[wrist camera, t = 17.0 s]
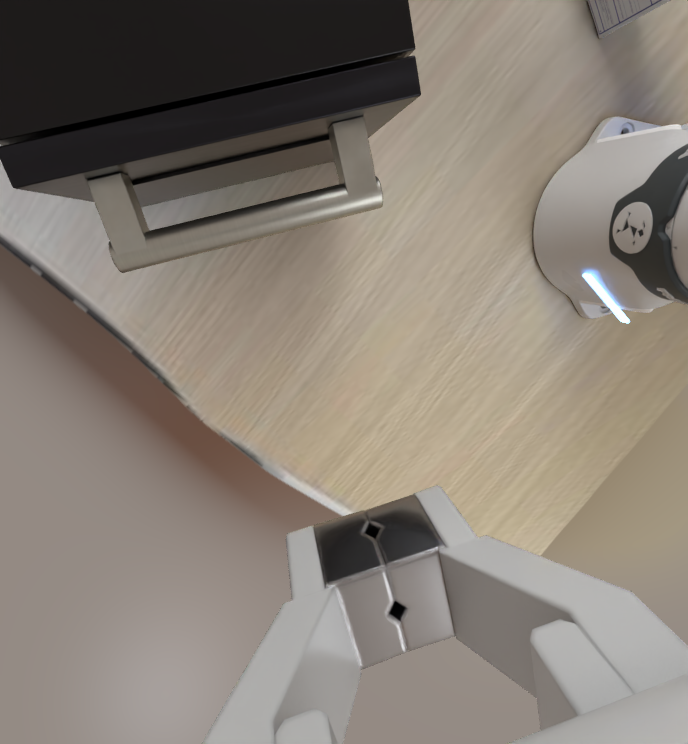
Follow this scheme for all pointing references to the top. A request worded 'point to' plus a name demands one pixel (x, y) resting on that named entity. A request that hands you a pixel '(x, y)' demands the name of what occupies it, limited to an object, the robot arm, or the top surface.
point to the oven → (175, 53)
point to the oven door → (222, 160)
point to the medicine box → (619, 13)
